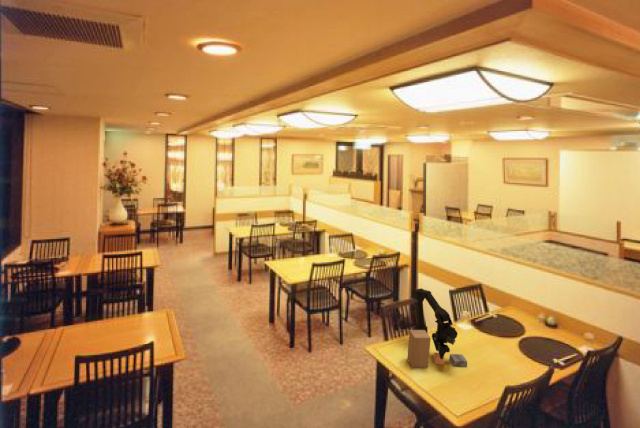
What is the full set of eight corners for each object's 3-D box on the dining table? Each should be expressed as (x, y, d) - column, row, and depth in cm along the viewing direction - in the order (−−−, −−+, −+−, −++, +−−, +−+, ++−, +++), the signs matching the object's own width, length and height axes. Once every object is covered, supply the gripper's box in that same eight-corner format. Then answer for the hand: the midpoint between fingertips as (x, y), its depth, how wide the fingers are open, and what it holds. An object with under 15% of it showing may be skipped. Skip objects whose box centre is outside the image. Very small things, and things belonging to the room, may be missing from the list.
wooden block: (407, 359, 229) (409, 329, 226) (422, 358, 230) (424, 329, 227) (412, 368, 220) (414, 337, 216) (428, 368, 220) (430, 337, 217)
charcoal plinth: (453, 367, 223) (454, 361, 222) (449, 359, 231) (449, 354, 230) (466, 367, 223) (467, 361, 222) (461, 360, 231) (462, 354, 230)
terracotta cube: (435, 364, 225) (436, 356, 224) (433, 359, 230) (434, 352, 229) (443, 364, 225) (444, 357, 224) (441, 360, 230) (442, 352, 229)
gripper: (459, 340, 215) (457, 364, 217) (449, 325, 233) (447, 347, 236) (440, 338, 215) (438, 362, 218) (432, 324, 234) (430, 346, 236)
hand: (439, 354), depth 227 cm, fingers open, 9 cm apart
